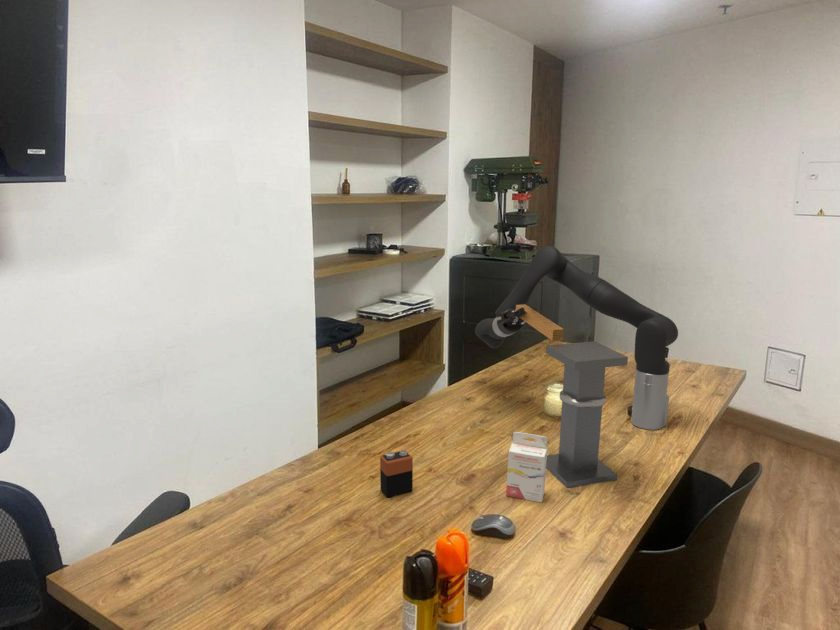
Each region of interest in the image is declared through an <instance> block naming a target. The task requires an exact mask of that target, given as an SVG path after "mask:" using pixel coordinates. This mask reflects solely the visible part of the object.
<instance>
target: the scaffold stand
mask: <svg viewBox="0 0 840 630" xmlns="http://www.w3.org/2000/svg"><path fill="white" fill-rule="evenodd" d="M545 354H547V355H548V356H549V357H552V358H554V360H557V361H559V362H560V363H562V364H563V365H564V368H563V369H564V371H563V382H562V383H563V384H562V385H563V386H562V389H561V391H560V392H559V399H560V401H561V415H560V431H559V444H558V445H559V447H558V453H554V454H547V461H546V470H548V471H549V472H550V473H551V474H552V475H553V476H554V477H555V478H556V479H557V480H558V481H559V482H560V483H561V484H562V486H564V487H565V488H567V489H568V488H574V487H581V486H587V485H595V484H600V483H607V482H612V481H613V482H615V481H618V473H616V472H615V471H614V470H613V469H611V468H610V467H609V466H608V465H606V464H605V463H604V462H603V461H602V460H600V459H599V452H600V450H599V449H600V440H601V426H602V412H603V406H604V405H605V404H606V395H605V394H604V390H605V378H606V377H605V376H606V368H610V367H621V366H628V361H629V357H628V356H627V355H625V354H622V353H620V352H618V351H616V350H614V349H613V348H612V349H611V348H610V347H608V346H606V345H603V344H601V343H599V342H598V341H584V342H582V341H581V342H574V343H573V342H571V343H570V342H569V343H559V344H548V345H547V344H546V345H545Z"/></svg>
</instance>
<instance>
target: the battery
mask: <svg viewBox="0 0 840 630" xmlns="http://www.w3.org/2000/svg"><path fill="white" fill-rule="evenodd" d="M379 458H380V459H379V463H380V464H379V465H380V469H379V471H380V473H379V474H380V477H379V478H380V490H381V492H383V494H384V495H385V497H386V498H390V497H395V496H399V495H403V494H407V493H410V492H412V491H413V484H414V482H413V477H414V476H413V475H414V474H413V468H414V467H413V462H414V461H413V460H414V459H413V456H412V455H411V454H410V453H408V452H407V450H405V449H403V450H402V449H401V450H399V451H395V452H393V451H388V452H386V453H385V454H382V455H380V457H379Z"/></svg>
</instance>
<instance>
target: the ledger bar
mask: <svg viewBox="0 0 840 630" xmlns="http://www.w3.org/2000/svg"><path fill="white" fill-rule="evenodd" d="M523 307H524V309H525V315H523V316H522V317H520V318H521V319H522V320H524V321H525V323H527V324H528V325H529V326H530V327H532V328H533V329H535V330H536V331H538V332H539V333H541V334H542V335H544V336H545V337H546V338H548V339H549V340H550V341H554V342H555V341H563V340H564V328H563V327H561V326H559V325H558V324H556V323H555V322H553V321H552V320H551V319H549V318H547V317H546V316H545V315H542V314H541V313H539V311H537V312H536V311H535V310H533V309H532V307H530V306H528V304H527V305H526V304H523V305H516V310H518V309H520V308H523Z"/></svg>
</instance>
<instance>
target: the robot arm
mask: <svg viewBox="0 0 840 630" xmlns="http://www.w3.org/2000/svg"><path fill="white" fill-rule="evenodd" d="M544 277H547V278H548V279H549V280H553V281H554V282H556V283H558V284H560V285H562V286H564V287H566V288H567V289H569V290H570V291H571V292H572V293H574V295H575V296H576V297H578V298H579V299H581V300H582V301H583V302H584V303H585V304H586V305H588V306H590V307H591V308H592V309H594V310H595V311H597V312H598V313H600V314H603V315H605V316H607V317H609V318H613V319H616V320H620V321H622V322H625V323H628V324H629V325H631V326H633V327H634V328H636V331H635V337H634V361H635V363H636V364H635V365H636V366H635V375H634V376H635V377H634V387H633V397H632V408H631V420H630V422H631V424H632V425H634V426H635V427H638V428H640V429H644V430H652V431H656V430H660V429H662V428H663V427H666V426H667V422H668V412H669V403H670V402H669V401H670V396H669V395H668V394H667V393H668V385H669V377H670V375H669V374H670V362H669V361H668V360H666V350H667V349H666V348H667V347H668V346H670V345H672V344H674V343H675V342H676V340H678V336H679V330H678V327H677V325H676V323H675V322H674V321H673V320H672V319H671V318H669V317H668V316H666V315H664V314H662V313H660V312H657V311H655V310H653V309H652V308H650V307H647V306H646V305H644V304H643V303H641V302H639V301H638V300H636V299H635V298H633V297H631V296H630V295H628V294H627V293H626V292H624V291H622V290H620V289H619V288H617V287H616V286H615V285H613V284H612V283H610V282H608V281H607V280H605V279H603V278H601V277H600V276H597V275H595V274H593V273H589V272H587V271H585V270H582V269H580V268H579V267H577V265H575V264H574V263H572V262H571V261H570V260H569V259H567V257H566V256H565V255H564V254H563V253H561V251H560V250H559V249H558V248H556V247H555V246H552V245H545V246H543V247H541V248H539V249H538V251H537V252H536V253H535V254H534V256H533V257H532V259H531V260H530V263H529V264H528V265H527V268H526V269H525V271H524V273H523V274H522V276H521V277H520V279H519V281H518V282H517V284H516V285H515V286H514V288H513V289H512V290H511V292H510V293H509V294H508V296H507V297H506V298H505V299H504V301H502V303H501V304H500V305H499V307H497V309H496V310H495V312H494V313H495V316H496V317H495V318H490V317H489V318H485V319H482V320H480V322H478V323H477V324H476V326H475V328H474V333H475V335H476V336H477V338H479V339H480V340H481V341H483V342H484V343H485V344H486V345H487V346H488V347H490V348H492V349H498V348H500V346H502V344H503V343H504V341H505V339H506V337H509V336H512V335H514V334H515V333H517V332H519V331H521V330H522V328H523V327H524V324H525V323H526V322H525V321H524V320H522V319H521V318H520V317H522V316H523V315H525V309H524V307H523V308H520V309H518V310H516V305H523V304H526V305H527V306H528V303H529V301H530V299H531V297H532V293H533V292H534V290H535V288H536V287H537V285H538V284H539V282H540V281H541V280H542V279H543V278H544ZM531 308H532V309H533V310H535V311H536V312H538V310H537V309H538V308H537V307H536V306H531Z"/></svg>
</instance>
